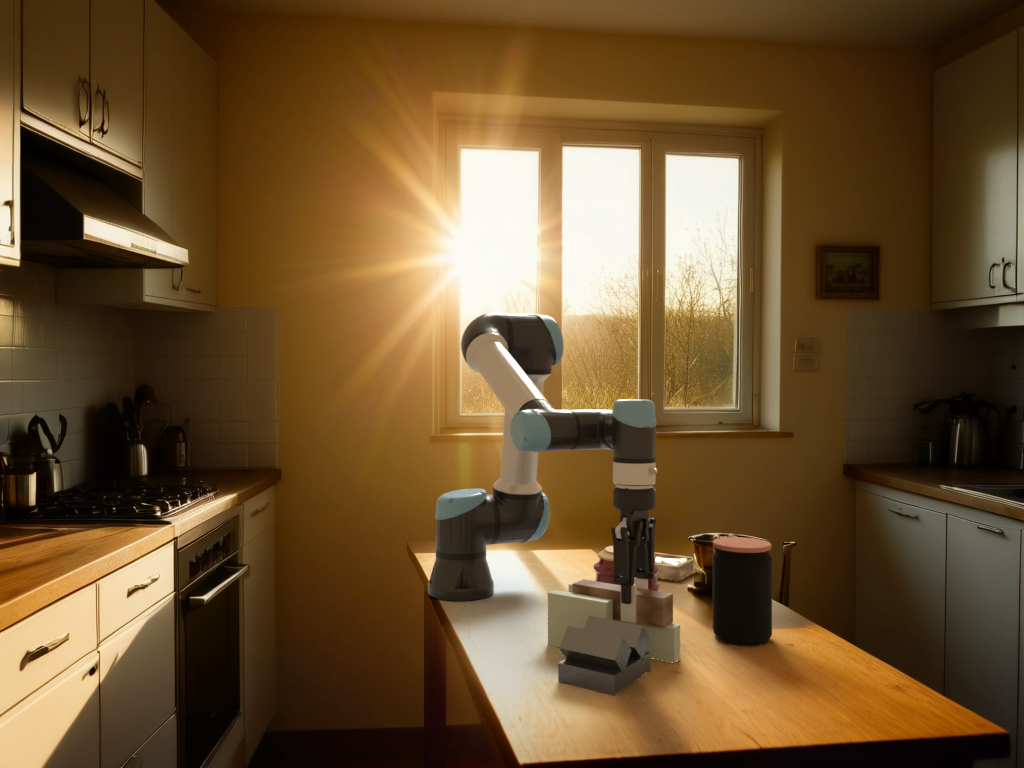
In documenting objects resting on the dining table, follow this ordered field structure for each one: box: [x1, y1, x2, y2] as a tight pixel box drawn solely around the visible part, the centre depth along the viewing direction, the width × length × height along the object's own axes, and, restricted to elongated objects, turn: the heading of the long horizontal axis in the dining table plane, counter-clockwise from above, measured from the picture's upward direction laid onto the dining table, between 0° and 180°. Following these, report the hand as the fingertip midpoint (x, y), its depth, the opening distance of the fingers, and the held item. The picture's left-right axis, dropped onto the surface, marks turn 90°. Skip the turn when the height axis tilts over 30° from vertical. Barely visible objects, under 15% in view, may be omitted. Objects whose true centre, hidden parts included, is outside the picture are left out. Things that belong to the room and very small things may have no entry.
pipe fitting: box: [655, 557, 687, 566], centre depth 200 cm, size 8×4×7 cm
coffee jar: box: [712, 536, 773, 647], centre depth 147 cm, size 11×11×18 cm
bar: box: [572, 579, 674, 628], centre depth 140 cm, size 18×4×5 cm, turn 55°
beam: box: [547, 581, 681, 664], centre depth 140 cm, size 23×10×10 cm, turn 55°
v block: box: [557, 616, 651, 696], centre depth 127 cm, size 10×13×8 cm
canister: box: [592, 545, 661, 591], centre depth 154 cm, size 13×13×18 cm
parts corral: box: [654, 551, 693, 581], centre depth 200 cm, size 14×13×4 cm
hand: (634, 617), depth 138 cm, fingers closed on bar, 4 cm apart
